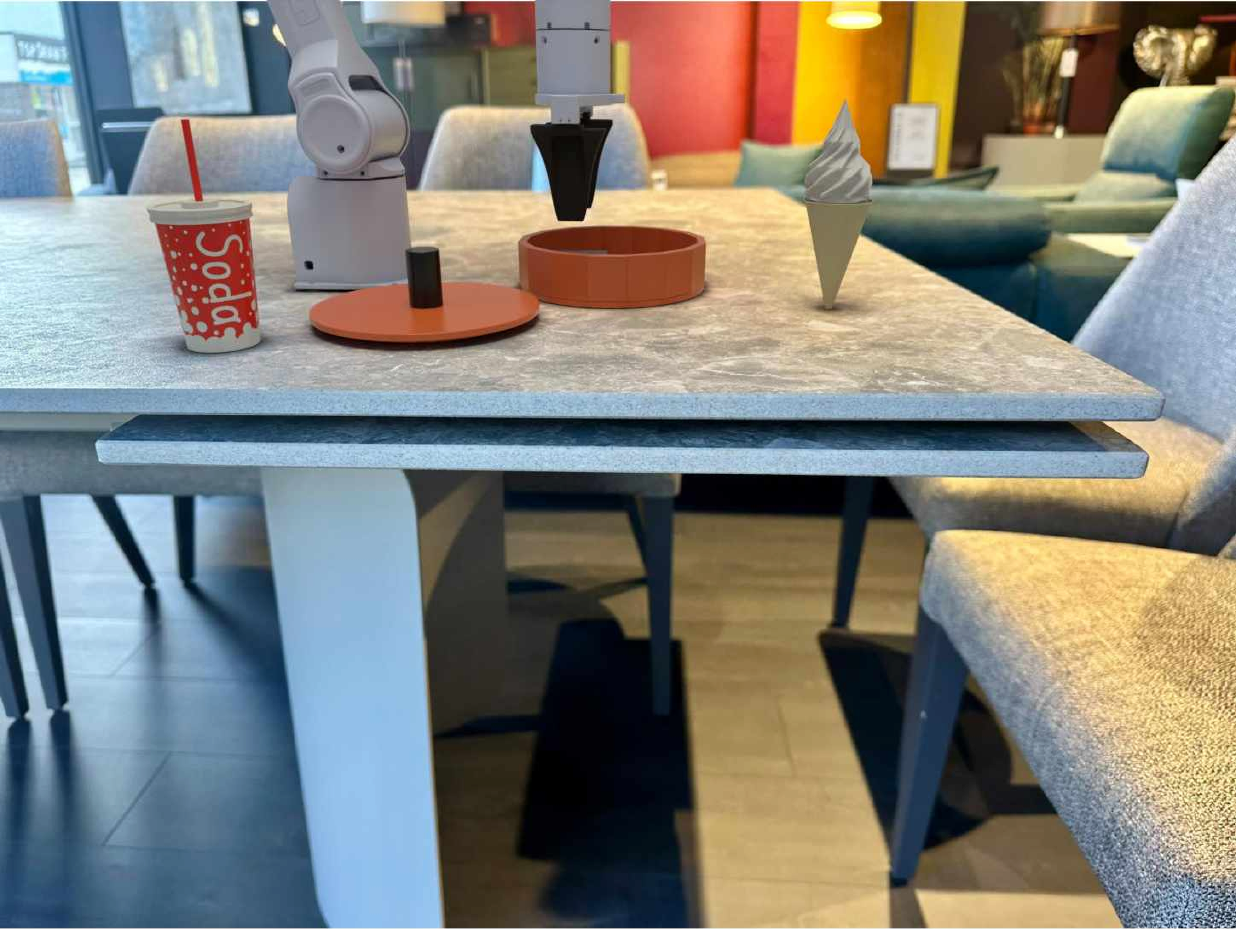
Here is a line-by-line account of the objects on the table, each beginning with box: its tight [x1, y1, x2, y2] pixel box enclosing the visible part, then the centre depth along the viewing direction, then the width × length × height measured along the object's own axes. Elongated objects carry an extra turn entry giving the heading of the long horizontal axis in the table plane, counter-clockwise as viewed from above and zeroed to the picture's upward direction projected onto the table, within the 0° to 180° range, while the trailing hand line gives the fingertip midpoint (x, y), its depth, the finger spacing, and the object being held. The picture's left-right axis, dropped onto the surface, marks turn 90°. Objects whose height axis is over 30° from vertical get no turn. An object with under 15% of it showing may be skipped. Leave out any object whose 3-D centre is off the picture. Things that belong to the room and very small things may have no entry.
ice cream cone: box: [803, 98, 874, 310], centre depth 67 cm, size 5×5×15 cm
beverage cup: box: [146, 118, 262, 354], centre depth 58 cm, size 6×6×14 cm
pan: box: [517, 224, 707, 309], centre depth 76 cm, size 15×15×4 cm
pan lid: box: [308, 246, 541, 344], centre depth 65 cm, size 16×16×5 cm
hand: (575, 214), depth 75 cm, fingers open, 7 cm apart
